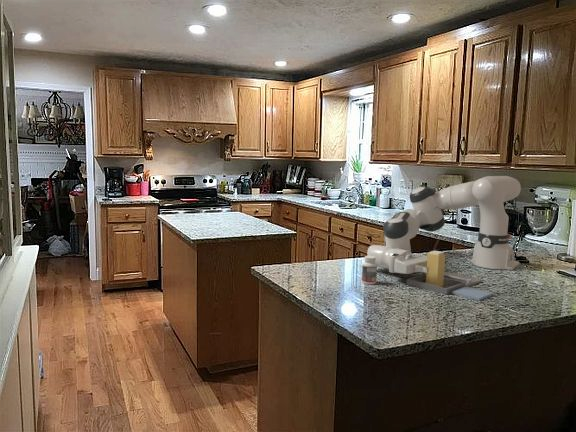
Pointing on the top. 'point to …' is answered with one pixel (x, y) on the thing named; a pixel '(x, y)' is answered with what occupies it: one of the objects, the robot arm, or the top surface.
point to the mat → (472, 293)
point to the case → (449, 278)
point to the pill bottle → (369, 270)
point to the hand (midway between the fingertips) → (434, 268)
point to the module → (435, 268)
